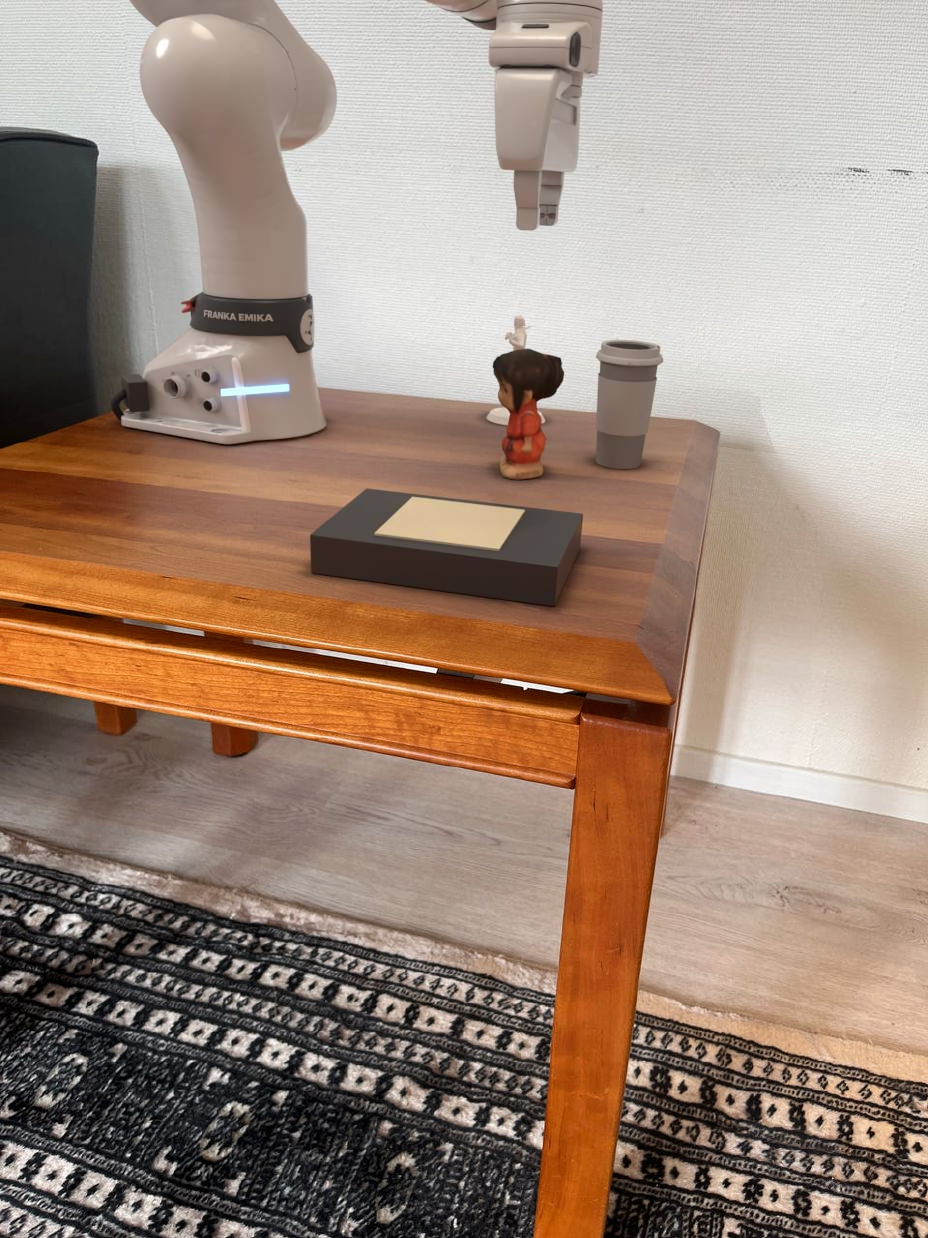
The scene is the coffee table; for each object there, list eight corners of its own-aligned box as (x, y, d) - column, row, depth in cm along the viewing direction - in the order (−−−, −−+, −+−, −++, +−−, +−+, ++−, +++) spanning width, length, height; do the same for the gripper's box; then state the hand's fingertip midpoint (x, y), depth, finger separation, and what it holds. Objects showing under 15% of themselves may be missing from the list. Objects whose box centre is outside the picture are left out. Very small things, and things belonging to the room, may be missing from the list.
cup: (649, 475, 99) (664, 352, 94) (582, 469, 100) (594, 347, 95) (651, 457, 105) (665, 341, 100) (589, 451, 106) (599, 336, 101)
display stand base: (310, 573, 72) (309, 531, 70) (366, 522, 82) (366, 485, 81) (554, 606, 68) (558, 563, 67) (580, 549, 79) (583, 510, 77)
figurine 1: (491, 410, 122) (496, 309, 117) (548, 414, 121) (556, 313, 116) (481, 423, 116) (486, 317, 111) (541, 428, 115) (549, 321, 110)
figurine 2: (524, 460, 102) (532, 341, 97) (562, 473, 98) (572, 350, 93) (477, 469, 98) (483, 345, 93) (514, 483, 94) (522, 355, 89)
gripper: (533, 64, 93) (525, 221, 99) (483, 36, 75) (477, 231, 81) (600, 64, 92) (588, 224, 98) (565, 36, 74) (553, 234, 79)
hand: (537, 227), depth 89 cm, fingers open, 8 cm apart
